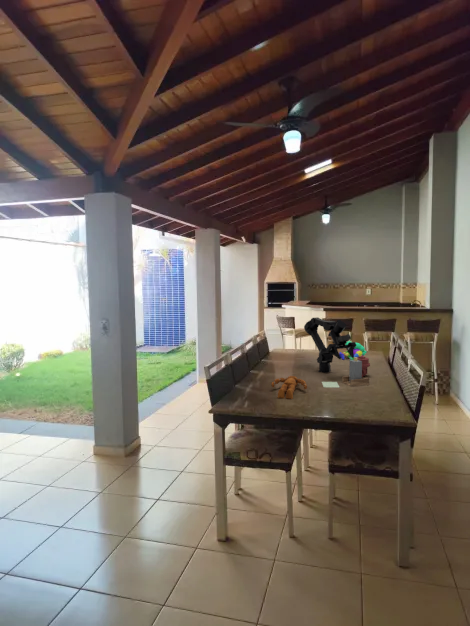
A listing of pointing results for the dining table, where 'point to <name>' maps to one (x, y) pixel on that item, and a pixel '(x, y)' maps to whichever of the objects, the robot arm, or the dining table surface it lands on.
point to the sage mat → (330, 384)
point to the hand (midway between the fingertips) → (346, 358)
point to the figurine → (354, 351)
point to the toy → (288, 386)
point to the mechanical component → (364, 364)
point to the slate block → (355, 369)
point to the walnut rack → (355, 381)
